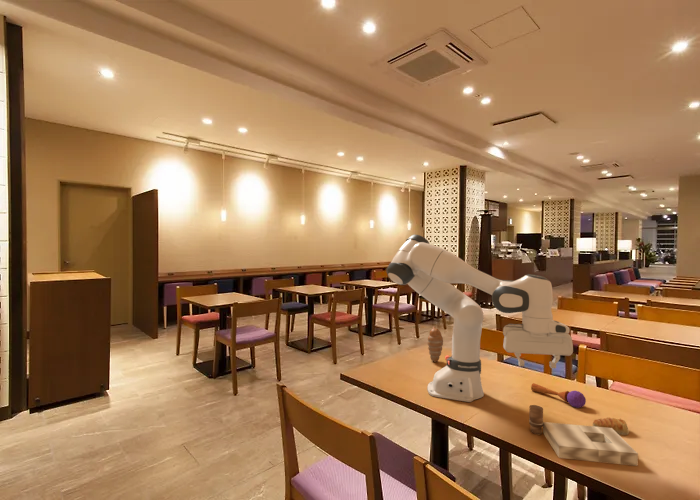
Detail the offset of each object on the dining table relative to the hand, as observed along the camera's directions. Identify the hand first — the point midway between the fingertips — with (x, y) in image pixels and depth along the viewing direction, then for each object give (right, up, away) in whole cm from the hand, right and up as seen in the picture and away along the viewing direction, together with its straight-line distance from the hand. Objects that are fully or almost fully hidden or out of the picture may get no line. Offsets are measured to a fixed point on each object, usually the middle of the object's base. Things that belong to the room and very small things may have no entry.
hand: (536, 366), depth 118 cm
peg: (0, -21, 0) cm, 21 cm away
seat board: (+10, -22, -9) cm, 26 cm away
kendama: (+21, -21, +25) cm, 39 cm away
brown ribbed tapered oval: (-17, -20, +70) cm, 75 cm away
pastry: (+26, -22, +2) cm, 34 cm away
